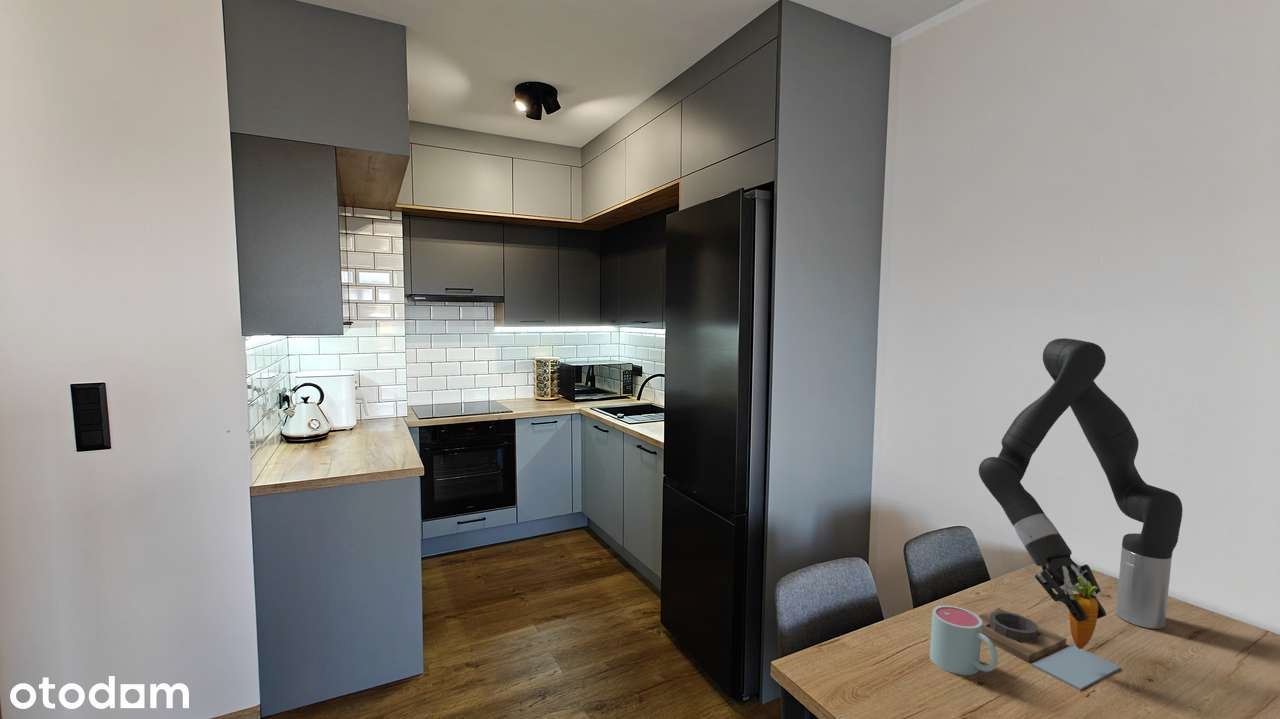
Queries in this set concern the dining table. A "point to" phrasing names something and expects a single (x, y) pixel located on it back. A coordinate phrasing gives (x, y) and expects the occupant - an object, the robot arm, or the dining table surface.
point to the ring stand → (1019, 635)
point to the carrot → (1090, 607)
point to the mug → (959, 641)
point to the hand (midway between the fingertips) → (1092, 618)
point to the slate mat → (1076, 667)
